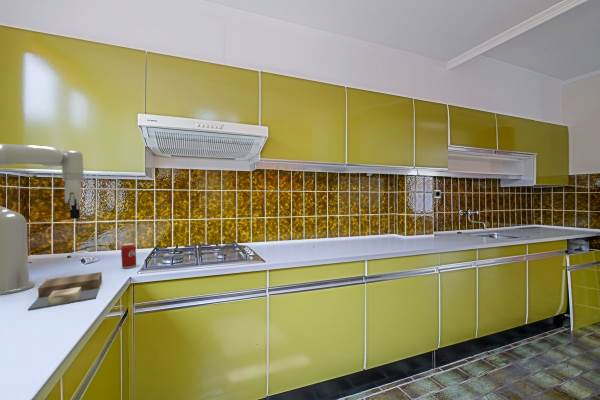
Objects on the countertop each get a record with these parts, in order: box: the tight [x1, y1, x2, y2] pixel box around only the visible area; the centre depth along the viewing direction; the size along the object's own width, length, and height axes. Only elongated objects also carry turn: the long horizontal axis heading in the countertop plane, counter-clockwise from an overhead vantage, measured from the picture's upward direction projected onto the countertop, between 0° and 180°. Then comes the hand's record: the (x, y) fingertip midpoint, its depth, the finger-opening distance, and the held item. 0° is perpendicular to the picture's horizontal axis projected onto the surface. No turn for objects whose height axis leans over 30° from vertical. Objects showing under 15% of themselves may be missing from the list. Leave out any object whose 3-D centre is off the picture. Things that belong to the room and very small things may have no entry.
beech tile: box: [48, 287, 81, 304], centre depth 101 cm, size 8×7×2 cm
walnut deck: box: [37, 271, 103, 298], centre depth 112 cm, size 18×12×4 cm, turn 121°
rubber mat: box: [27, 288, 100, 312], centre depth 102 cm, size 18×11×1 cm, turn 121°
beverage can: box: [120, 242, 137, 269], centre depth 144 cm, size 6×6×12 cm
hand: (75, 218), depth 128 cm, fingers closed
